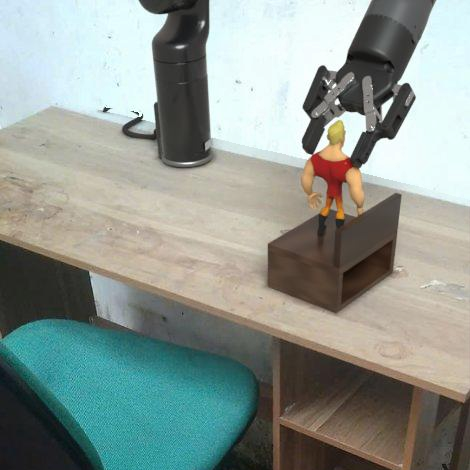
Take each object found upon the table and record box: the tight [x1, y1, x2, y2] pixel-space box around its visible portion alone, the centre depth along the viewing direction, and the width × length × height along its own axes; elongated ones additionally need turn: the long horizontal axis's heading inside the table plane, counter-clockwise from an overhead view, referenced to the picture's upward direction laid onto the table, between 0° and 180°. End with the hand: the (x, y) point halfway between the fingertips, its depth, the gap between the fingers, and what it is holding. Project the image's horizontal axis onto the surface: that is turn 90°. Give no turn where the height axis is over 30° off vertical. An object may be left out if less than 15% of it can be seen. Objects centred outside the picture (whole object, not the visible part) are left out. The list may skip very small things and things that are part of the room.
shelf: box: [267, 192, 403, 314], centre depth 110 cm, size 12×14×12 cm
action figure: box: [300, 119, 366, 236], centre depth 104 cm, size 10×4×15 cm, turn 54°
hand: (330, 157), depth 101 cm, fingers closed on action figure, 7 cm apart
